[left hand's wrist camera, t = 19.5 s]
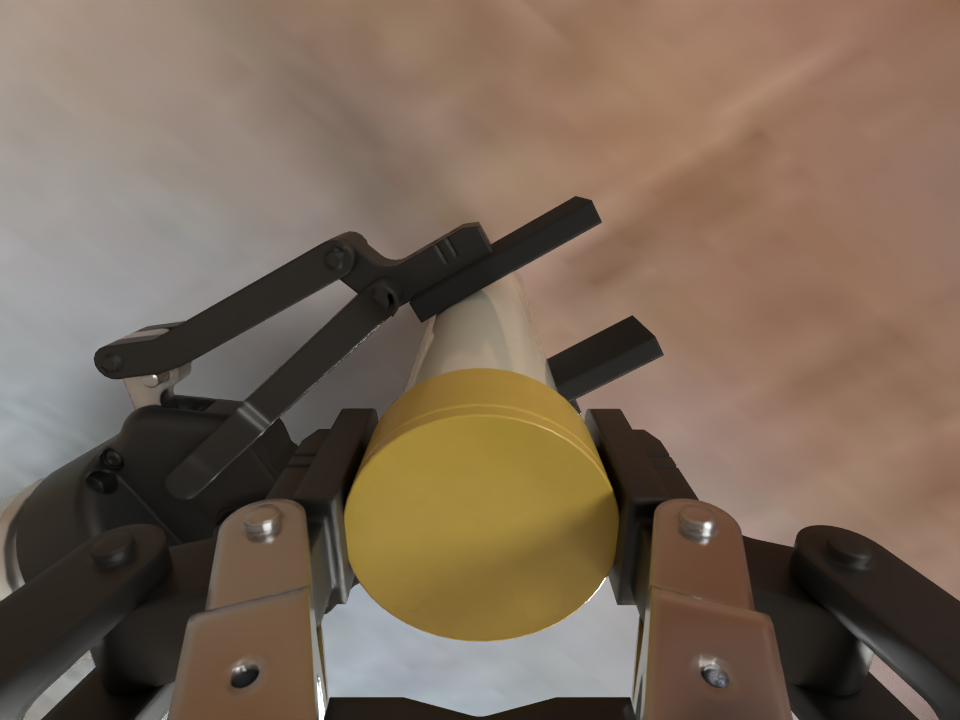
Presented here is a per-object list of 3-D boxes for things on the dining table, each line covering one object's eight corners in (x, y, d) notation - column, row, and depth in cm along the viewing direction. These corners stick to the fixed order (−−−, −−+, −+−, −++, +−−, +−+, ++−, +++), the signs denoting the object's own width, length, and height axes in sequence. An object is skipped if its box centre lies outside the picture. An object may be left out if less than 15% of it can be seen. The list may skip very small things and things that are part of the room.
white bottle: (425, 272, 24) (338, 444, 9) (511, 246, 24) (563, 385, 9) (452, 352, 26) (413, 613, 11) (534, 330, 25) (610, 569, 10)
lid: (542, 586, 12) (554, 668, 10) (340, 527, 12) (312, 603, 10) (635, 411, 11) (671, 468, 9) (405, 332, 10) (387, 374, 8)
